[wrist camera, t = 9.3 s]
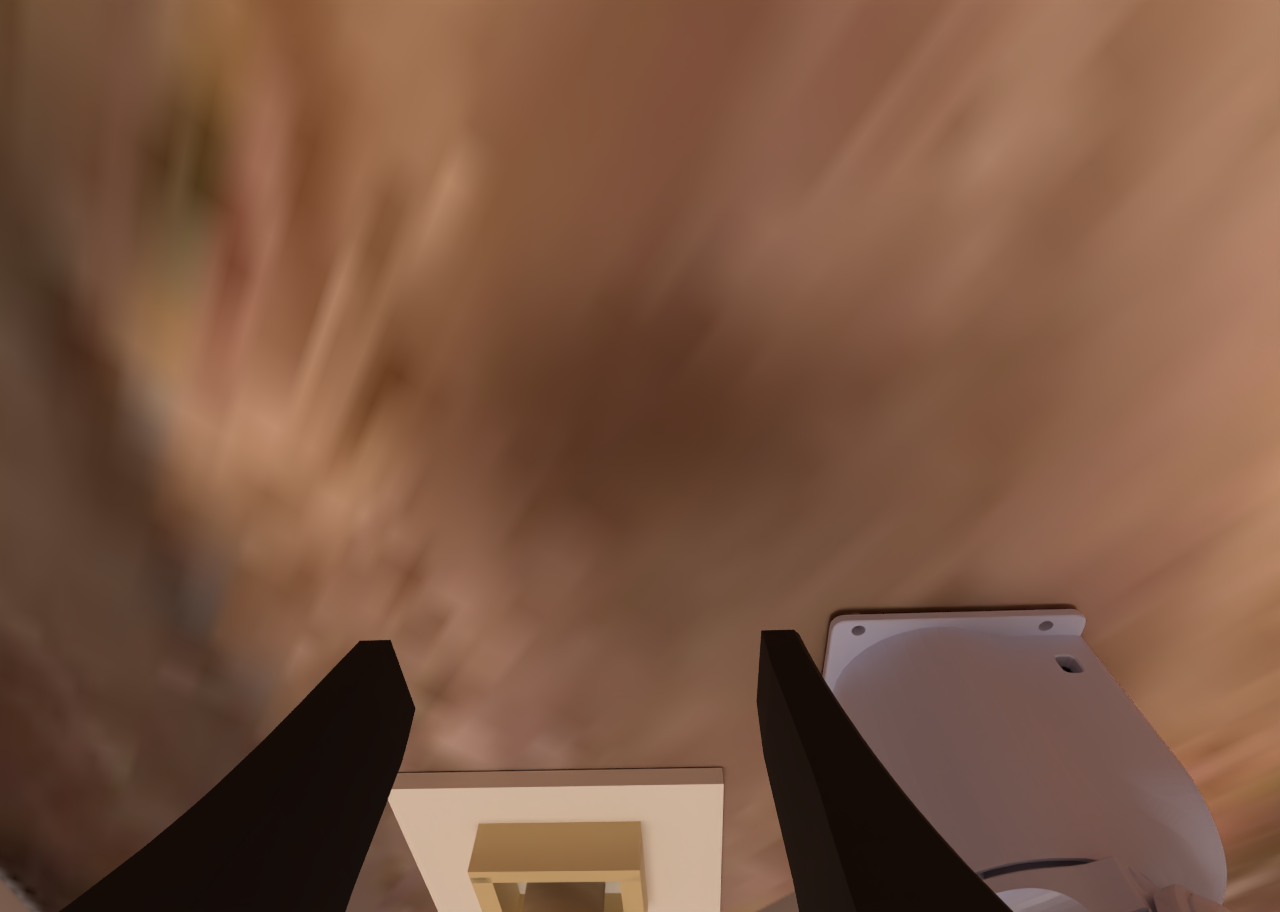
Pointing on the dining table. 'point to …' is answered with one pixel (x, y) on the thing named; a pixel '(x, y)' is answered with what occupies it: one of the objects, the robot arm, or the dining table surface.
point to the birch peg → (564, 897)
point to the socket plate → (566, 835)
